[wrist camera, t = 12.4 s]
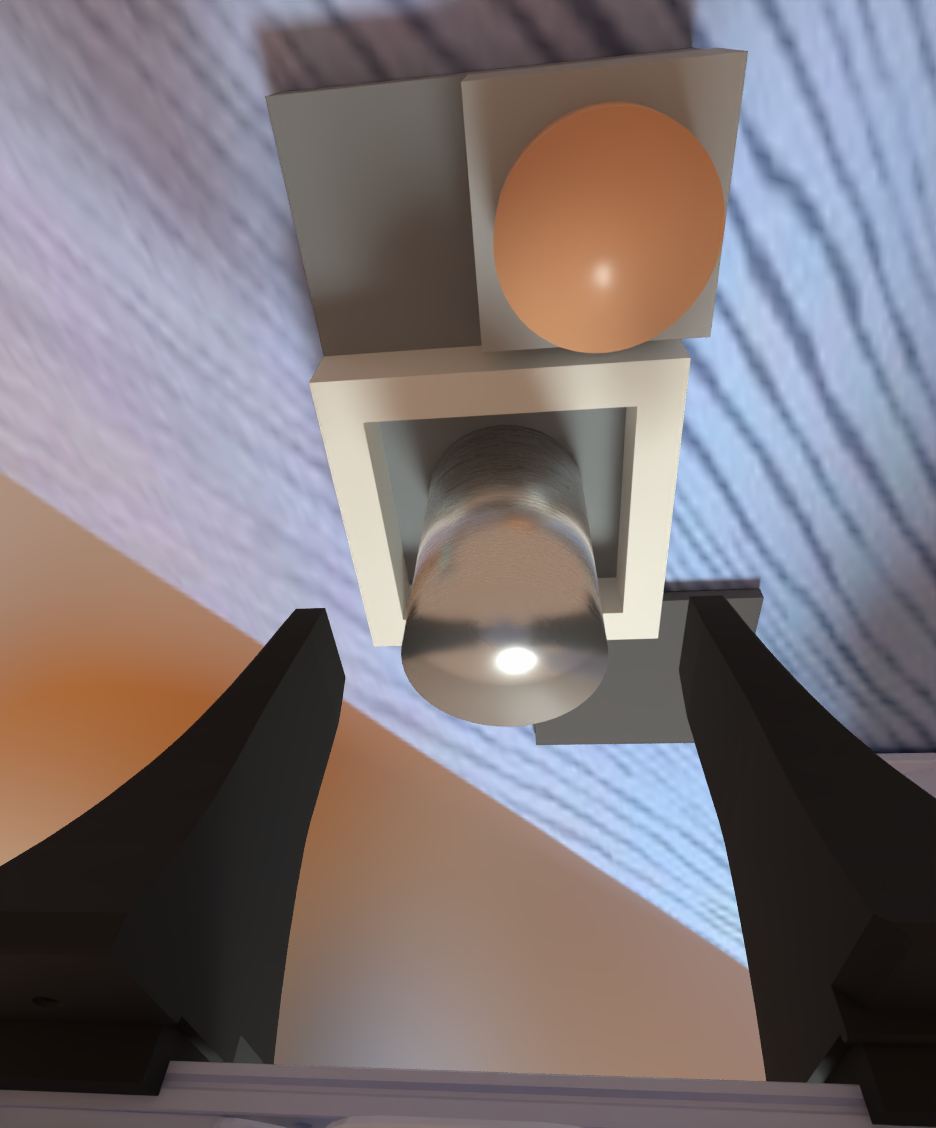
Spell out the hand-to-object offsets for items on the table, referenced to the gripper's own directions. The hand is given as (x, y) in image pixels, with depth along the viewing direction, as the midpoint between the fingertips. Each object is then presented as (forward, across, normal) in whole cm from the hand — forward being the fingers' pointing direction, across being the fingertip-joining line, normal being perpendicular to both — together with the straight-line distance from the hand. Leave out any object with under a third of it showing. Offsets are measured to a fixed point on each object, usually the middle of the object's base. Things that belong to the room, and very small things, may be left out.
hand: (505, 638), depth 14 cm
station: (+6, 0, -2) cm, 7 cm away
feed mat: (+6, -4, +8) cm, 11 cm away
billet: (+5, 0, 0) cm, 5 cm away
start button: (+5, -2, -7) cm, 9 cm away
